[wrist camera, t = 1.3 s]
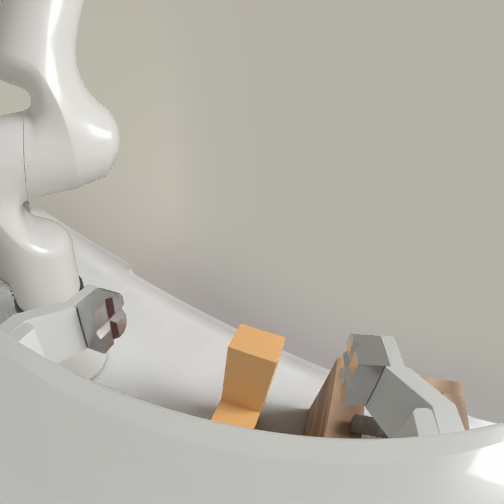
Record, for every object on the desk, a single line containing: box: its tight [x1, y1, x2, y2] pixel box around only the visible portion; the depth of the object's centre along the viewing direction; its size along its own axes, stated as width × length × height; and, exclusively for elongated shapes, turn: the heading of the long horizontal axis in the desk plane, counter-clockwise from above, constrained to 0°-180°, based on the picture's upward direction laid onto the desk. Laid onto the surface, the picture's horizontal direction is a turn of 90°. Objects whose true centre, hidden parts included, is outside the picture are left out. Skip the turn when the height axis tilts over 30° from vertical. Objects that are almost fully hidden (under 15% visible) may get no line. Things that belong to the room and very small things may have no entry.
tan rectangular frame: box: [303, 358, 469, 439], centre depth 26 cm, size 20×20×15 cm
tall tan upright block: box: [211, 324, 286, 429], centre depth 28 cm, size 4×12×22 cm, turn 162°
